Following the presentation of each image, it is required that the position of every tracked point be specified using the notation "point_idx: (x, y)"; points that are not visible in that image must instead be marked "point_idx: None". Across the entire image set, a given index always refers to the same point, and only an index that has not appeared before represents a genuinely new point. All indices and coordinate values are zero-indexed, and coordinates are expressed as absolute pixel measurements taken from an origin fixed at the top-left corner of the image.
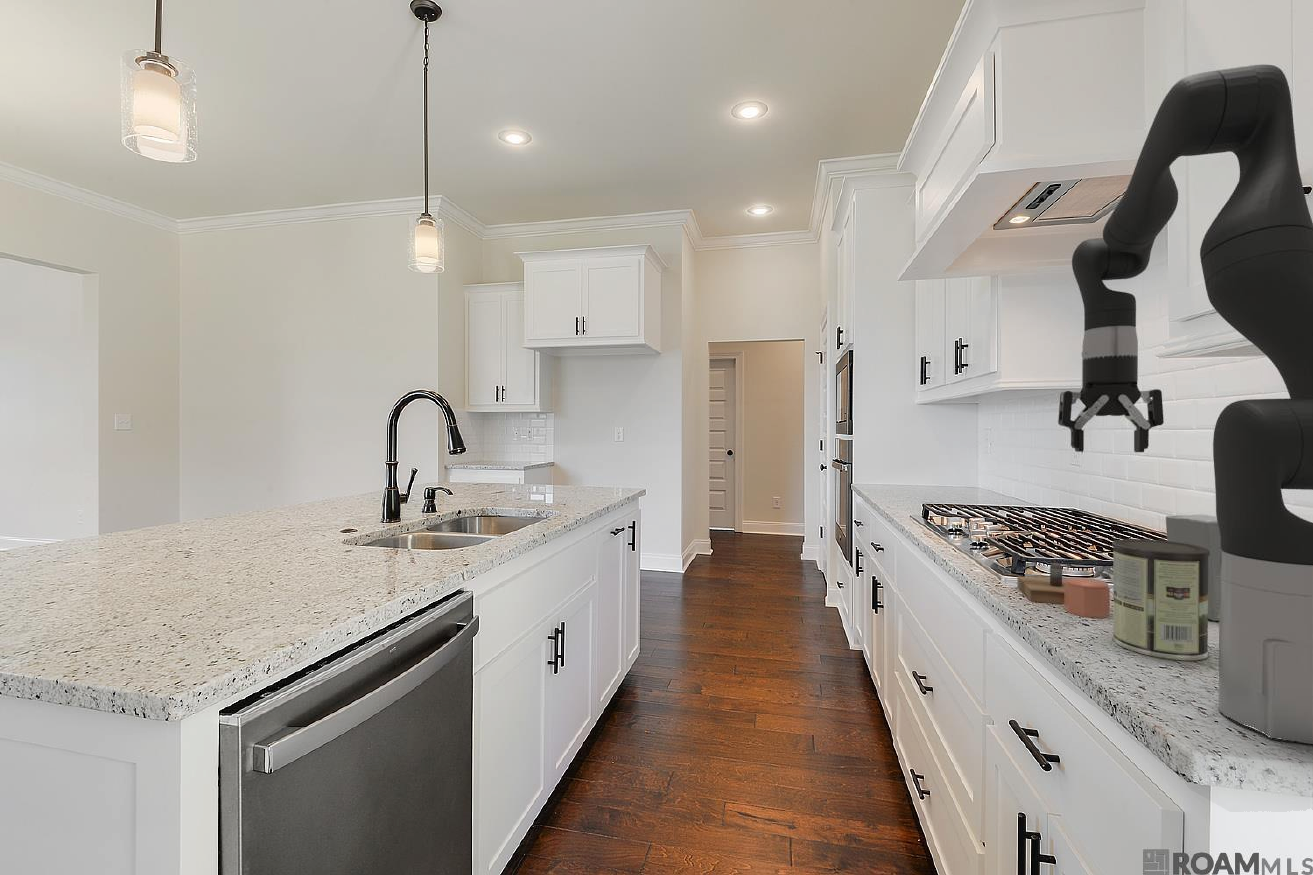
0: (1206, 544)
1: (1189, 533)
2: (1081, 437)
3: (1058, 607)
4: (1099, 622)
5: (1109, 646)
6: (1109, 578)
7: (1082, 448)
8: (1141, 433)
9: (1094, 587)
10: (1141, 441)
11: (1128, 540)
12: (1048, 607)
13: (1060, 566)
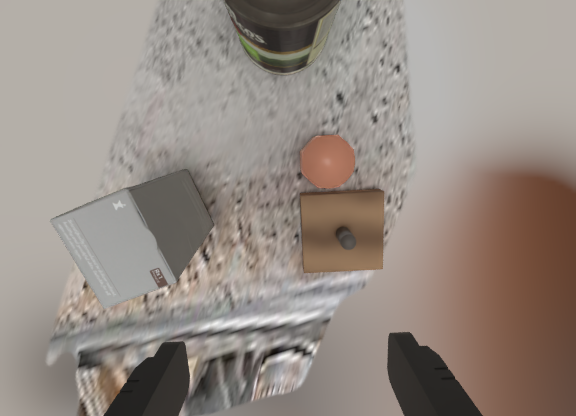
0: (149, 185)
1: (160, 219)
2: (428, 378)
3: None
4: (320, 115)
5: None
6: (246, 352)
7: (398, 337)
8: (134, 411)
9: (325, 135)
10: (156, 373)
11: (317, 4)
12: (363, 166)
13: (344, 237)
